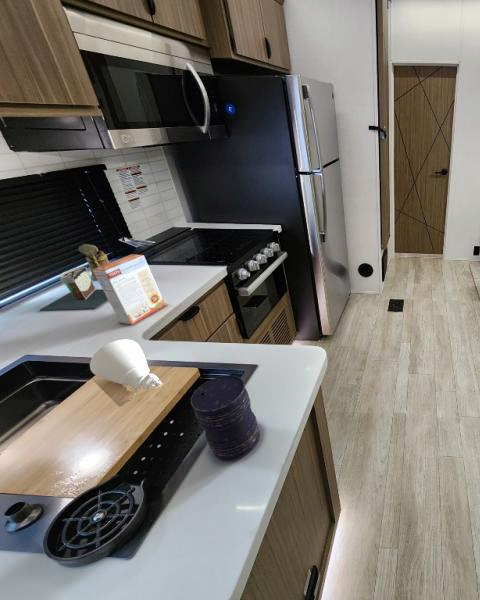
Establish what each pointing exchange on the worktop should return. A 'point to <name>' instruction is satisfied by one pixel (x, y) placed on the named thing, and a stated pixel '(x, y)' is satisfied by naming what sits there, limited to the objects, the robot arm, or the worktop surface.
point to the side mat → (78, 302)
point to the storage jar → (226, 417)
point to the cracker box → (130, 288)
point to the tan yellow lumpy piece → (93, 257)
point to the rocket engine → (124, 365)
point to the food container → (78, 282)
